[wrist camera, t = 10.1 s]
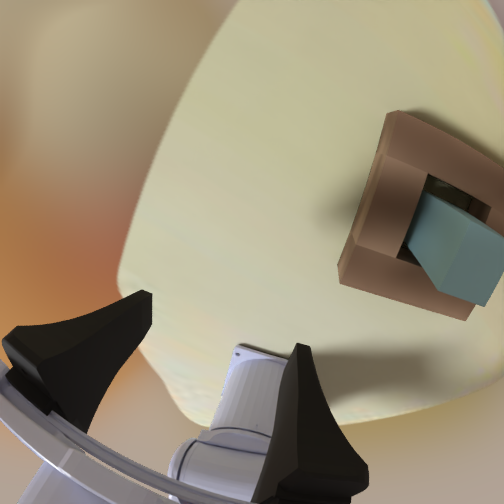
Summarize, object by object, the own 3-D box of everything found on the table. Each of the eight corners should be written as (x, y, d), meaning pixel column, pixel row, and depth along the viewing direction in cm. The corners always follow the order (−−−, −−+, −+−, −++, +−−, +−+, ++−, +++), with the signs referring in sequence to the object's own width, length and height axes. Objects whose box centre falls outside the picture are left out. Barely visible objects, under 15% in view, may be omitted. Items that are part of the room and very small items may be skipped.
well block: (453, 301, 20) (465, 321, 17) (337, 264, 21) (339, 283, 18) (506, 178, 15) (526, 185, 12) (386, 113, 16) (398, 109, 13)
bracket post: (440, 252, 19) (484, 307, 11) (400, 236, 19) (437, 290, 12) (458, 207, 17) (515, 245, 10) (419, 188, 17) (470, 220, 10)
